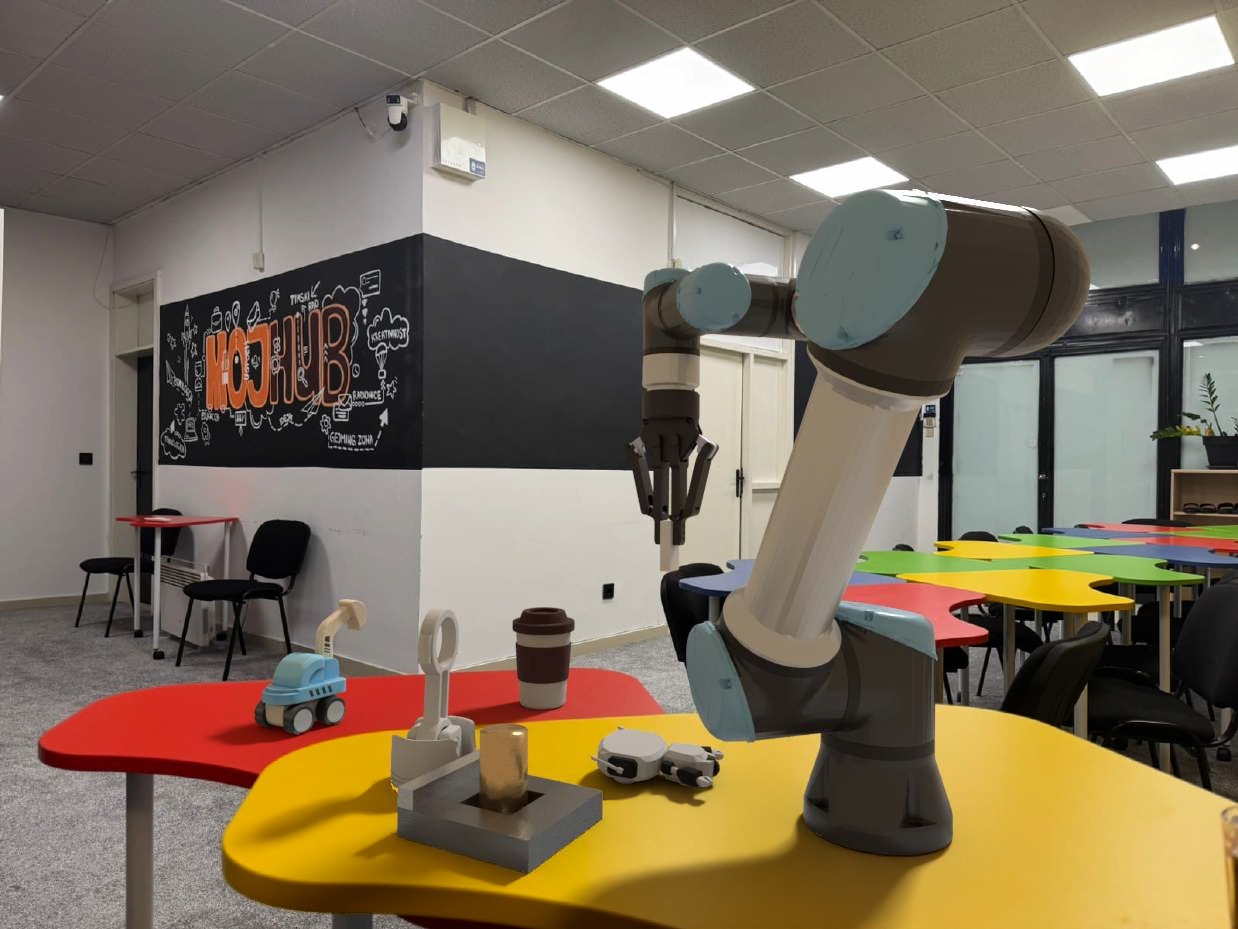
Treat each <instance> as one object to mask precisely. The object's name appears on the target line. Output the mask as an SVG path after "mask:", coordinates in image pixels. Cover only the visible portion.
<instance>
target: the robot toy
mask: <svg viewBox="0 0 1238 929" xmlns="http://www.w3.org/2000/svg"><path fill="white" fill-rule="evenodd" d="M616 728H617V730H615V731H613V732H611V733H610V734H607V735H606V736H604V737H603V738H602V739H601V740H599V744H598V747H597V756H595V755H590V756H589V758H590V759H591V760H592V761H594V762H596V765H597V768H598V769H599V770H600V771H601V773H603V774H604V775H605V776H607V777H610V778H613V780H615V781H616V782H618V783H620V784H622V783H623V784H622V785H629V784H632V783H634V782H642V781H649V780H651V779H652V778H654V777H656V776H658V774H659V773H661V774H662V775H663V776H664V778H665V779H666V780H667V781H668V780H669V781H672V782H677V783H679V784H680V786H686V787H689V786H690V787H692V788H695V789H697V788H700V787H701V788H707V787H709V786H712V785H713V783H714V782H713V779H714V777H717V776H718V775H719V773H720V770H721V767H720V763H719V762H718V761H719V760H723V759H724V757H725V756H724V755H725V754H724V753H723V752H722V750H720V749H713V750H712V747H711V746H704V745H703V746H701V745H699V744H693V743H686V742H685V743H683V742H672V743H671V744H669V745H668V743H667V741H666V740H665V739H664V737H662V736H661V735H660V734H658V733H656V732H652V731H651V732H650V731H645V730H639V729H633V728H624V727H623V726H619V725H618V726H616Z"/></svg>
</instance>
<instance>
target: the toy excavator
mask: <svg viewBox="0 0 1238 929" xmlns="http://www.w3.org/2000/svg"><path fill="white" fill-rule="evenodd" d="M337 604H338V606H339V608H338V609H336V610H335V611H334V612H332V613H331V614H330V615H329V616H327V617H326V618H325V619H324V620H322V621H321V623H320V624H319V625H318V627H317V630H316V633H315V644H314V653H311V652H310V653H309V652H301V651H300V652H299V651H298V652H297V651H296V652H292V653H289V654H288V655H286V656H284V657H283V658H282V660H280V661H279V663H278V665H277V667H276V668H275V670H274V674H273V679H272V683H270V684H267V685H266V687H265V688H264V689H263V690H262V691H261V700H260V701H258V703H257V704H256V706H255V708H254V717H253V718H254V719H253V720H254V721H255V722H256V724H257V725H259V726H261V727H265V728H271V729H272V728H274V727H276V726H277V727H283V730H284V731H285V732H287V733H289V734H293V735H297V736H300V735H301V733H305V732H308V731H310V729H311V728H312V727H313V725H314V723H315V722H316V721H318V722H319V723H322V724H324V725H328V726H331V725H333V726H337V725H339V723H341V722H342V721H343V719H344V718H345V716H346V712H347V709H346V706H347V705H346V704H347V703H346V701H345V699H344V698H342V697H339V696H336V695H337V694H341V693H345V692H346V691H347V678H345V677H342V676H340V663H339V660H338V659H336V658H335V657H334V653H333V651H334V650H333V640H334V636H335V635H336V634H337V633H338V632H339V631H340V629H342V627H343V626H344V625H345V624H346V627H347V629H348V630H353V631H362V630H363V629H364V628H365V626H366V624H367V622H368V610H367V607H366V605H365V604H364V602H362V601H360V600H357V599H349V598H347V599H345V598H344V599H340V600H339V601H338V602H337Z"/></svg>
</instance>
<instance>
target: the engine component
mask: <svg viewBox="0 0 1238 929" xmlns="http://www.w3.org/2000/svg"><path fill="white" fill-rule="evenodd" d="M458 622H459V621H458V619H457V615H456V613H455V612H454V610H453V609H450V608H448V607H447V608H445V607H444V608H442V607H435V608H432V609H430V610H429V611H428V612H427V614H426V615H425V616H424V617H423V620H422V623H421V626H420V629H419V635H418V644H417V664H419V665H420V668H421V670H422V672H423V673H424V674H425V678H424V695H423V696H424V698H423V700H424V701H423V716H421V717H419V718H418V717H417V719H416V720H415V722H414V725H413V726H412V727H411V728H409V730H408V731H407V735H406V737H402V736H399V735H396V734H392V735H391V749H390V750H391V751H390V784H391V783H392V784H393V786H394V787H396V788H398V787H399V786H401V785H403V784H405V783H407V782H409V781H412V780H414V779H416V778H418V777H420V776H422V775H425V774H427V773H429V772H431V771H433V770H435V769H437V768H440V767H442V766H444V765H446V764H448V763H450V762H453V761H455V760H457V759H459V758H461V757H463V756H466V755H468V754H470V753H472V752H474V751H476V750H478V749H477V739H476V724H475V722H474V720H472V719H470V718H467V717H463V716H458V715H457V716H456V715H448V714H449V693H450V674H451V673H450V672H451V670H452V668H453V666H454V664H455V661H456V659H457V656H458V653H459V645H460V644H459V642H460V630H459V623H458ZM440 629H441V644H440V650H439V654H438V655H437V641H438V635H439V631H440ZM391 780H392V781H391Z"/></svg>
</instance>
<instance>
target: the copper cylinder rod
mask: <svg viewBox="0 0 1238 929" xmlns="http://www.w3.org/2000/svg"><path fill="white" fill-rule="evenodd" d="M528 741H529V729H528V727H527V726H524V725H521V724H517V723H495V724H491V725H487V726H484V727H482V728H481V729H480V730H479V749H480V763H479V808H481V809H485V810H489V811H493V812H497V813H501V814H505V815H512V814H514V813H515V812H517V811H519V810H520V809H522V808H524V807H525V806H527V805H528V775H529V774H528V772H529V767H528V766H529V742H528Z"/></svg>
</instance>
